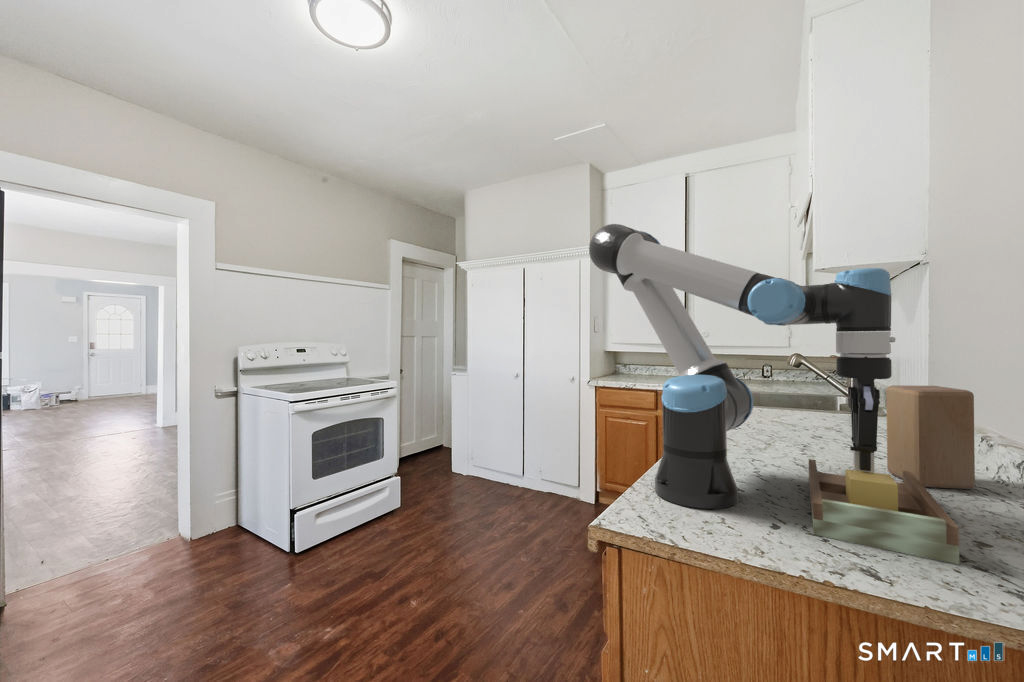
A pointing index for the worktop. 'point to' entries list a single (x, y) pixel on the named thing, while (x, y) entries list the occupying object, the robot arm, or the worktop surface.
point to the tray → (884, 518)
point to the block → (931, 435)
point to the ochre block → (871, 490)
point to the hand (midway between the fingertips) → (863, 486)
